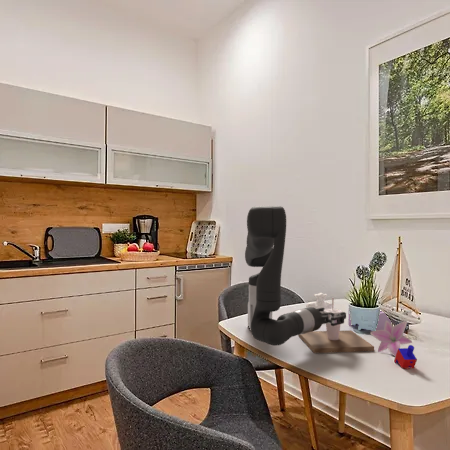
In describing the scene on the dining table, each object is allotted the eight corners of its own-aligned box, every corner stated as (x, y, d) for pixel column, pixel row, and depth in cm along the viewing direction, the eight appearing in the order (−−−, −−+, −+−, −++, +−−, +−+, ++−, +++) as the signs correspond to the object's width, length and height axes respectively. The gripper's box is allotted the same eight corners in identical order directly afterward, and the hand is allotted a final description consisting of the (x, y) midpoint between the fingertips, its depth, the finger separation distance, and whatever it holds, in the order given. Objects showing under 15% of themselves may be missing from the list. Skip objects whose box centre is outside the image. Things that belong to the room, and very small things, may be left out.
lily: (367, 348, 130) (363, 326, 126) (396, 333, 132) (393, 311, 128) (392, 371, 120) (388, 349, 116) (423, 354, 122) (420, 332, 118)
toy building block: (400, 372, 111) (407, 352, 107) (394, 361, 115) (400, 341, 111) (412, 372, 111) (419, 352, 107) (405, 360, 115) (412, 341, 111)
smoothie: (340, 336, 135) (340, 296, 135) (344, 341, 129) (344, 300, 129) (322, 335, 136) (322, 296, 136) (325, 341, 130) (325, 299, 129)
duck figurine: (306, 320, 171) (311, 303, 163) (302, 306, 176) (307, 290, 169) (332, 319, 171) (338, 303, 164) (328, 306, 177) (333, 289, 170)
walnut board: (313, 352, 123) (314, 348, 123) (298, 335, 141) (298, 331, 140) (374, 351, 124) (374, 346, 124) (351, 334, 142) (351, 330, 142)
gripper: (323, 313, 116) (352, 305, 127) (287, 305, 127) (316, 298, 138) (323, 338, 116) (352, 328, 127) (286, 327, 127) (316, 319, 138)
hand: (333, 312), depth 132 cm, fingers open, 8 cm apart
